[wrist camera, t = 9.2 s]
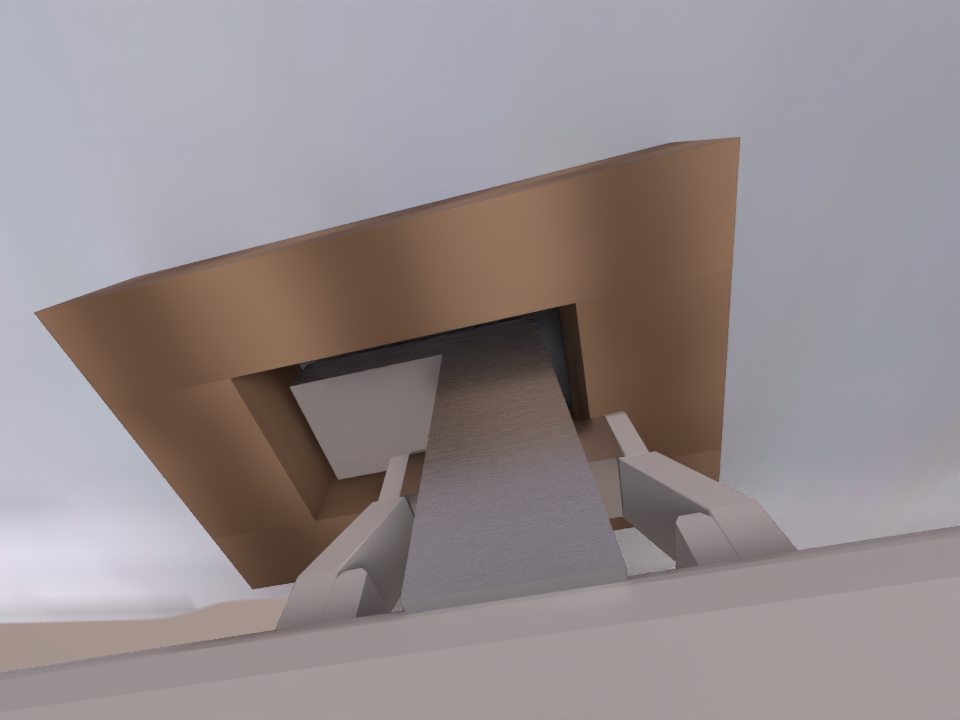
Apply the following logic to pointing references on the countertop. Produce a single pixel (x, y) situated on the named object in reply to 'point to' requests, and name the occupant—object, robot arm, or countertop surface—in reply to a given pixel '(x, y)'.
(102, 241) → the countertop surface
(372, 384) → the angle bracket
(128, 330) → the well block
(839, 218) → the countertop surface
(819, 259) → the countertop surface
